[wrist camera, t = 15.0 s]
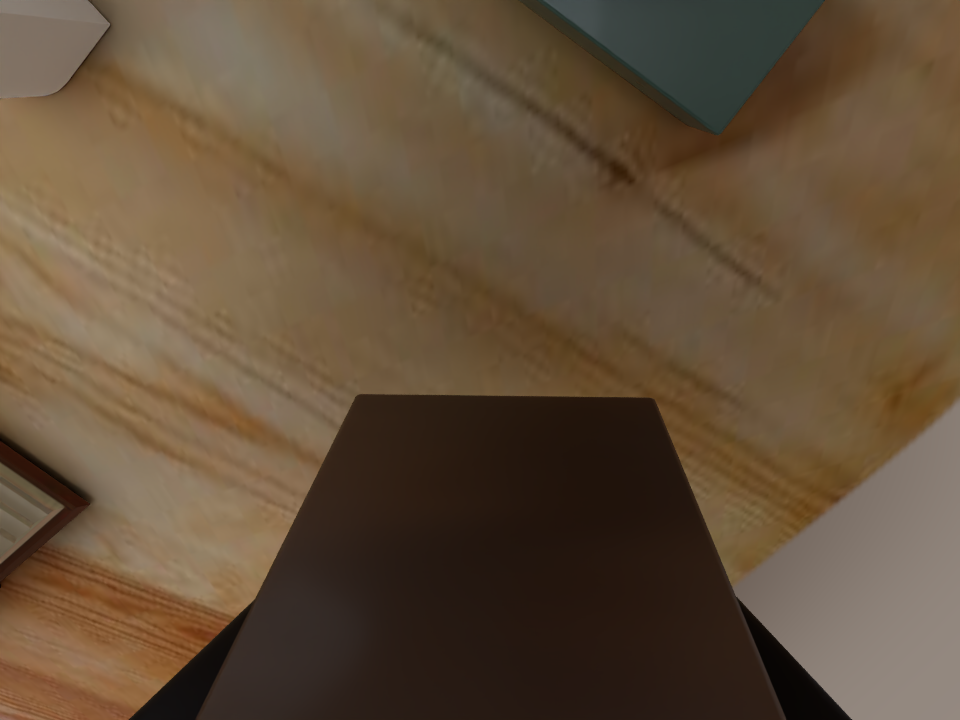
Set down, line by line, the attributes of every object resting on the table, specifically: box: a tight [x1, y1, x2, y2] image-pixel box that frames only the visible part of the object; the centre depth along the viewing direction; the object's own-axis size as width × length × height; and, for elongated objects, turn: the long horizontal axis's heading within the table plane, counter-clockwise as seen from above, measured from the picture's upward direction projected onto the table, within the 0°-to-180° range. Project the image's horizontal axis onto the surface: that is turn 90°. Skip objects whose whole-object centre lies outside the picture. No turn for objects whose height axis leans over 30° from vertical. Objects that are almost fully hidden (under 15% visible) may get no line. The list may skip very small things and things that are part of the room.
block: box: [195, 394, 786, 720], centre depth 7 cm, size 4×4×5 cm
